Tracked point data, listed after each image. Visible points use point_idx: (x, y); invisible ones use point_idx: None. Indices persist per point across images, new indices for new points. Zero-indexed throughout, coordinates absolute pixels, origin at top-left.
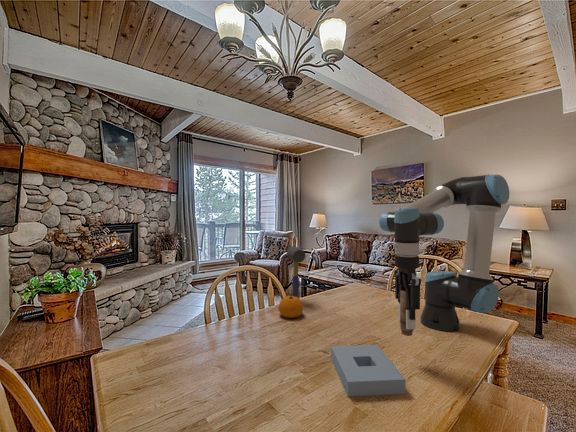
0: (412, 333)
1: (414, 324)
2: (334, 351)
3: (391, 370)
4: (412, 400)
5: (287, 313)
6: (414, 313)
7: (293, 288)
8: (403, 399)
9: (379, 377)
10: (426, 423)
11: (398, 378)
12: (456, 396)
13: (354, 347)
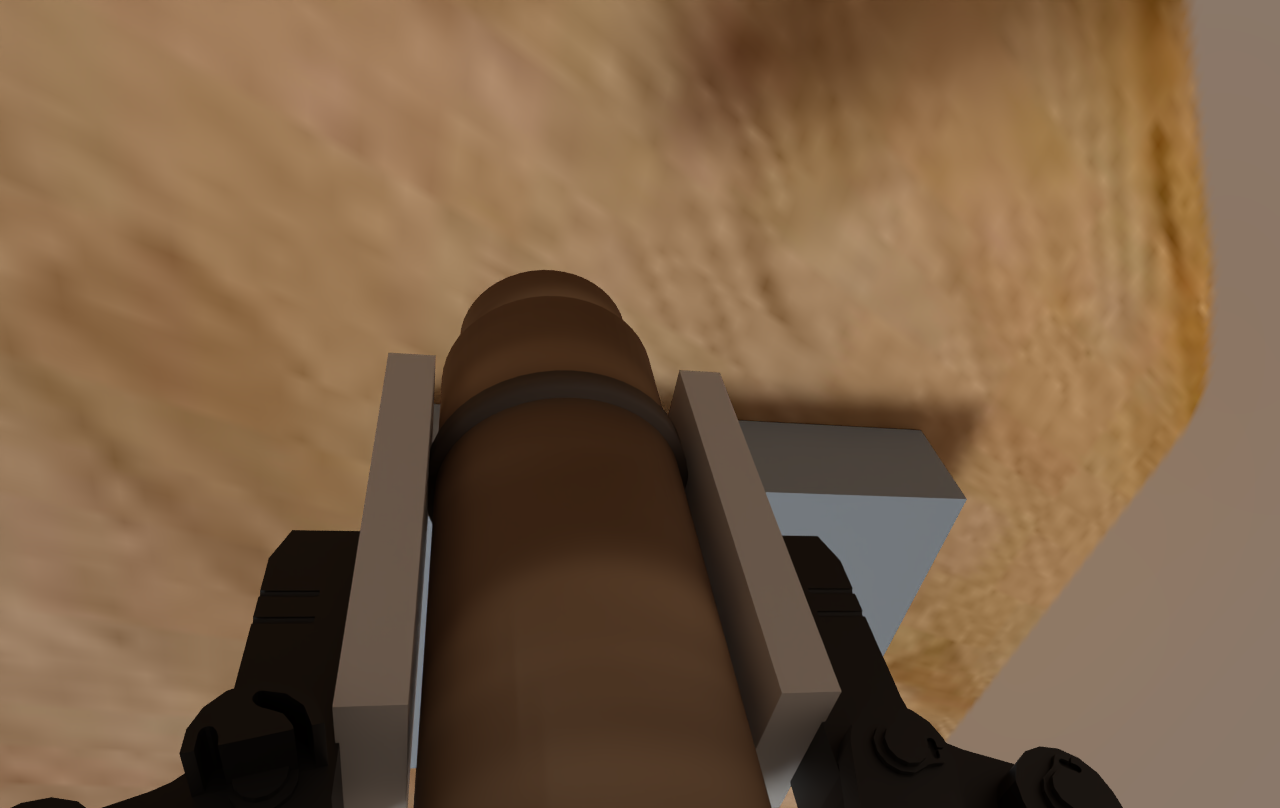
0: (606, 301)
1: (732, 436)
2: None
3: (835, 536)
4: (986, 421)
5: None
6: (874, 664)
7: None
8: (953, 462)
9: (868, 622)
10: (1146, 447)
11: (935, 534)
12: (1132, 97)
13: (422, 652)
